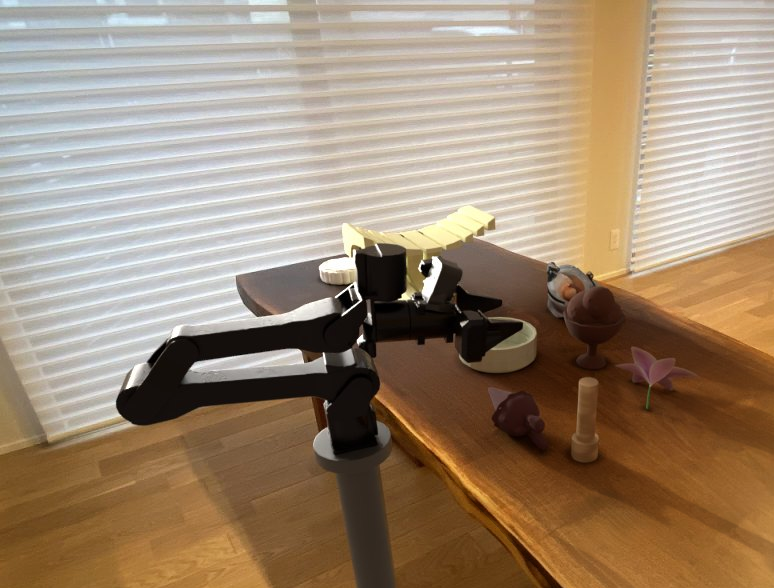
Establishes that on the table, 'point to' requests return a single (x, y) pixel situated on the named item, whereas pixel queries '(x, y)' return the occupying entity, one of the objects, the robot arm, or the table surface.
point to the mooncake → (338, 271)
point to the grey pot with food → (565, 286)
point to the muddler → (586, 422)
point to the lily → (654, 370)
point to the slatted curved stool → (423, 240)
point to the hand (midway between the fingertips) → (511, 313)
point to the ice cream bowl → (593, 322)
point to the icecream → (518, 415)
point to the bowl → (509, 351)
